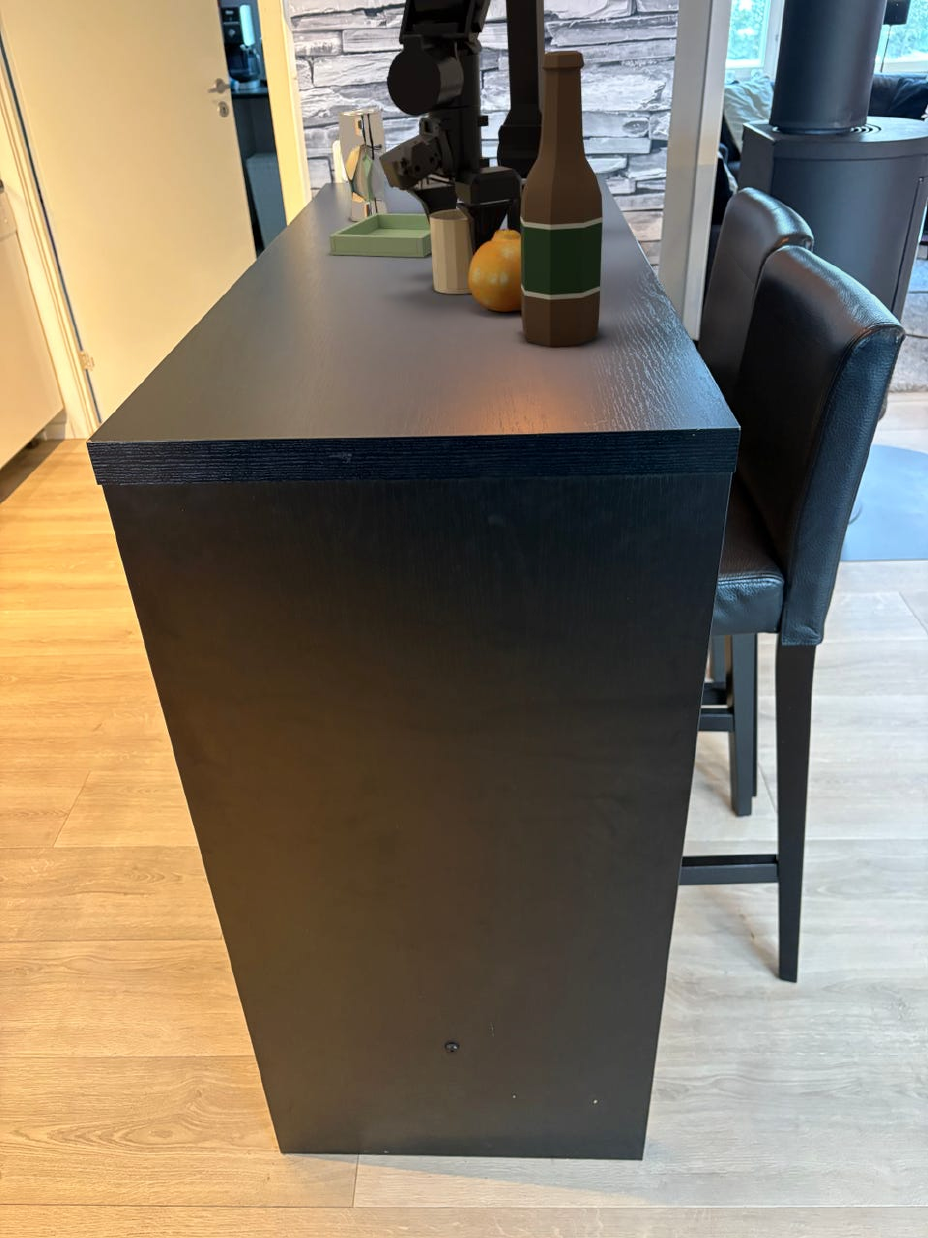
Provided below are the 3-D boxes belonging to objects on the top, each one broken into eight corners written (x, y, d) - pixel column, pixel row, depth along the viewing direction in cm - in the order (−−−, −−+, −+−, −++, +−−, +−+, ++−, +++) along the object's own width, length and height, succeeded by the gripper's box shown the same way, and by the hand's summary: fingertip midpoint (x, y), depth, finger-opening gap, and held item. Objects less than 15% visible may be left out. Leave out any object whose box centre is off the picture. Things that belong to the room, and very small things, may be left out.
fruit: (496, 269, 106) (482, 212, 99) (562, 281, 103) (553, 222, 96) (466, 323, 103) (450, 268, 96) (533, 337, 100) (521, 281, 93)
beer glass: (385, 222, 145) (375, 113, 136) (342, 222, 146) (330, 114, 138) (396, 213, 150) (388, 108, 142) (355, 214, 152) (344, 109, 143)
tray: (462, 232, 135) (461, 214, 134) (423, 257, 123) (422, 237, 122) (376, 230, 139) (375, 213, 138) (330, 254, 127) (328, 235, 126)
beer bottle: (606, 326, 94) (617, 47, 81) (589, 349, 88) (598, 52, 74) (532, 322, 96) (530, 50, 83) (510, 345, 90) (505, 55, 77)
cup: (497, 280, 111) (495, 208, 107) (479, 295, 106) (477, 220, 102) (445, 278, 113) (441, 207, 109) (425, 292, 108) (420, 219, 104)
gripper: (350, 107, 103) (365, 254, 112) (424, 118, 89) (434, 286, 98) (440, 98, 107) (447, 241, 116) (523, 108, 93) (525, 269, 102)
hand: (460, 258), depth 108 cm, fingers open, 9 cm apart
